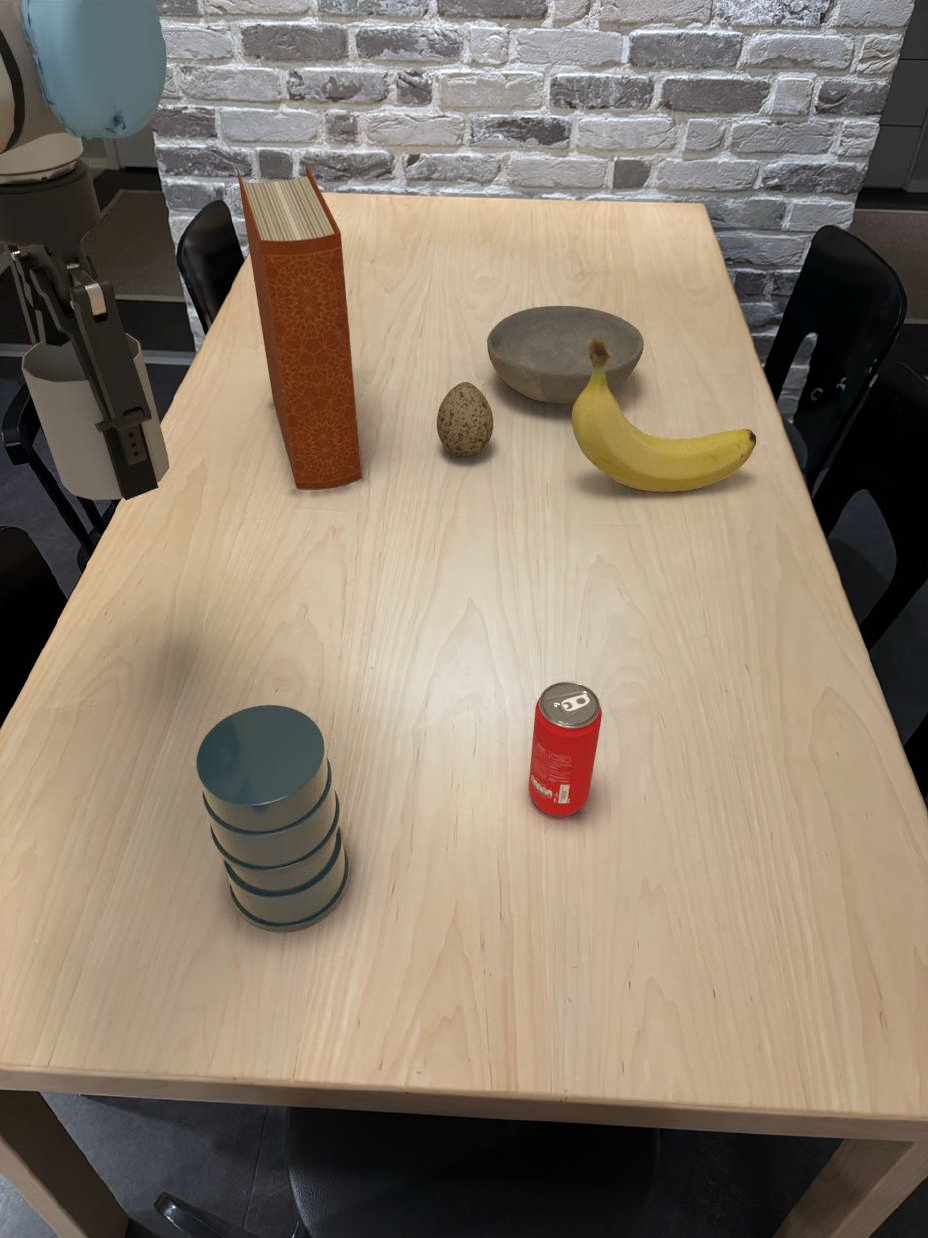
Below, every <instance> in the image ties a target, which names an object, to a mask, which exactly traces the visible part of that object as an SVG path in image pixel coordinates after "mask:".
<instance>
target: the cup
mask: <svg viewBox="0 0 928 1238" xmlns="http://www.w3.org/2000/svg"><path fill="white" fill-rule="evenodd" d="M125 335H126V338H127V341H128V344H129V347H130V351H131V354H132V357H133V360H134V363H135V366H136V369H137V372H138V375H139V378H140V381H141V384H142V387H143V390H144V393H145V396H146V399H147V403H148V406H149V408H150V410H151V415H152V419H151V420H148V421H146V422H143V423H142V427H143V431H144V435H145V438H146V442H147V446H148V450H149V454H150V457H151V461H152V465H153V469H154V472H155V476H156V480H157V484H158V483H160V482H161V481H163V478H164V477H165V475H166V474H167V473H168V472H169V470H170V462H169V454H168V450H167V446H166V443H165V442H166V441H165V438H164V434H163V430H162V426H161V421H160V419H159V415H158V410H157V407H156V403H155V399H154V394H153V390H152V387H151V382H150V379H149V375H148V371H147V367H146V363H145V358H144V354H143V351H142V346H141V343H140V341H139V340H138V339H136V338H135V337H133V336H132V335H130V333H127V332H125ZM21 371H22V374H23V376H24V379H25V382H26V385H27V388H28V391H29V393H30V397H31V399H32V402H33V405H34V408H35V410H36V413H37V416H38V419H39V422H40V425H41V428H42V430H43V433H44V437H45V439H46V442H47V445H48V447H49V451H50V453H51V457H52V459H53V462H54V465H55V467H56V470H57V473H58V477H59V479H60V481H61V484H62V486H63V487H64V488H65V489H66V490H67V491H68V492H69V493H71V495H73V496H77V497H79V498H84V499H88V500H91V501H105V500H106V501H107V500H120V499H124V498H123V497H122V495H121V492H120V489H119V485H118V482H117V479H116V475H115V472H114V469H113V465H112V462H111V459H110V455H109V452H108V449H107V445H106V442H105V439H104V435H103V432H99V431H98V430H97V428H96V426H95V424H96V423H99V422H101V421H104V420H103V416H102V414H101V411H100V409H99V407H98V404H97V402H96V400H95V397H94V395H93V393H92V390H91V388H90V384H89V381H88V380H87V378H86V376H85V374H84V371H83V369H82V367H81V364H80V362H79V360H78V357H77V355H76V353H75V350H74V348H73V346H72V343H71V341H69V342H67V343H66V344H64V345H62V346H61V347H60V346H54V345H47V344H46V341H42V342H40V343H38V344H36V345H34V346H33V347H32V346H31V348H30V349H29V350H28V351H27V352H25V353H24V355H22V360H21Z"/></svg>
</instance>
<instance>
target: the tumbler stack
mask: <svg viewBox="0 0 928 1238" xmlns="http://www.w3.org/2000/svg"><path fill="white" fill-rule="evenodd" d="M195 760H196V761H195V763H196V764H195V765H196V766H195V767H196V773H197V777H198V779H199V782H200V785H201V788H202V789H201V791H202V801H203V805H204V808H205V811H206V814H207V817H208V820H209V826H210V827H209V828H210V829H209V830H210V834H211V839H212V842H213V844H214V847H215V850H216V851H217V853H218V854H219V856H220V857H221V858H222V862H223V865H224V868H225V872H226V876H227V879H228V888H229V892H230V896H231V899H232V902H233V904H234V906H235V908H236V910H237V911H238V913H239V914H240V915H241V916H242V917H243V919H245V920H246V921H247V922H248V923H250V924H251V925H253V926H255V927H257V928H260V929H262V930H265V931H268V932H269V931H270V932H276V933H289V932H296V931H299V930H304V929H306V928H309V927H311V926H314V925H315V924H317V923H319V922H320V921H322V920H324V919H325V918H326V917H327V916H329V915H330V914H331V913H332V912H333V911H334V910H335V909H336V907H338V905H339V904H340V902H341V901H342V899H343V897H344V895H345V894H346V892H347V888H348V885H349V881H350V865H349V864H350V863H349V858H348V854H347V851H346V849H345V847H344V842H343V836H342V830H341V827H340V823H341V805H340V800H339V795H338V793H337V791H336V789H335V783H334V777H333V771H332V767H331V763H330V761H329V758H328V756H327V751H326V747H325V740H324V736H323V733H322V731H321V729H320V727H319V726H318V724H316V722H315V721H314V720H313V719H312V718H311V717H310V716H308V715H307V714H305V713H304V712H302V711H300V710H298V709H296V708H292V707H289V706H286V705H277V704H263V705H256V706H250V707H247V708H243V709H241V710H238V711H236V712H233V713H231V714H229V715H228V716H226V717H225V718H223V719H221V720H220V721H218V722H217V723H216V724H215V725H214V726H213V727H212V728H211V729H210V730H209V731H208V733H207V734H206V735H205V736H204V738H203V739H202V741H201V743H200V744H199V748H198V751H197V754H196V759H195Z"/></svg>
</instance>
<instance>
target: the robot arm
mask: <svg viewBox="0 0 928 1238" xmlns="http://www.w3.org/2000/svg"><path fill="white" fill-rule="evenodd" d="M160 14H161V13H160V11H159V7H158V4H157V2H156V0H0V244H2V246H3V248H4V251H5V254H6V257H7V259H8V262H9V265H10V269H11V273H12V276H13V279H14V283H15V287H16V291H17V294H18V298H19V301H20V305H21V308H22V312H23V317H24V319H25V323H26V327H27V330H28V334H29V338H30V342H31V348H32V347H33V346H34V345H36V344H38V343H40V342H42V341H46V344H47V345H54V346H60V347H61V346H62V345H64V344H66V343H67V342H69V341H71V343H72V346H73V348H74V350H75V353H76V355H77V357H78V360H79V362H80V364H81V367H82V369H83V371H84V374H85V376H86V378H87V380H88V381H89V384H90V388H91V390H92V393H93V395H94V397H95V400H96V402H97V404H98V407H99V409H100V411H101V414H102V416H103V420H104V421H101V422H99V423H96V424H95V426H96V428H97V430H98V431H99V432H103V435H104V439H105V442H106V445H107V449H108V452H109V455H110V459H111V462H112V465H113V469H114V472H115V475H116V479H117V482H118V485H119V489H120V492H121V495H122V497H123V498H122V499H124V500H125V501H129V500H131V499H134V498H136V497H139V496H141V495H144V494H147V493H150V492H151V491H155V490H156V489H157V490H158V489H159V484H158V483H157V480H156V476H155V472H154V469H153V465H152V461H151V457H150V454H149V450H148V446H147V442H146V438H145V435H144V431H143V427H142V423H143V422H146V421H148V420H151V419H152V415H151V410H150V408H149V406H148V403H147V399H146V396H145V393H144V390H143V387H142V384H141V381H140V378H139V375H138V372H137V369H136V366H135V363H134V360H133V357H132V354H131V351H130V347H129V344H128V341H127V338H126V335H125V333H126V332H125V330H124V327H123V323H122V320H121V316H120V314H119V313H120V312H119V309H118V308H119V307H118V304H117V303H118V302H117V298H116V295H115V294H116V293H115V288H114V285H113V283H112V281H110V279H109V278H107V277H105V278H102V279H101V278H100V279H98V277H99V276H98V272H97V269H96V268H95V264H94V263H93V261H92V259H91V257H90V256H89V254H85V251H84V249H83V247H82V246H81V241H82V239H83V237H85V235H86V234H87V233H88V232H91V231H92V230H94V229H95V228H96V227H97V226H98V224H99V223H100V220H101V210H100V205H99V201H98V197H97V194H96V193H97V192H96V190H95V187H94V182H93V178H92V174H91V170H90V167H89V165H88V164H87V163H86V162H84V161H83V160H82V159H81V158H79V157H80V156H81V155H82V154H83V152H84V146H83V142H82V140H87V141H91V140H93V139H95V138H100V139H101V138H103V139H123V138H127V137H130V136H132V135H135V134H137V133H138V132H140V131H141V130H142V129H143V128H145V127H146V126H147V125H148V124H149V122H150V121H151V120H152V118H153V116H154V115H155V113H156V112H157V110H158V108H159V105H160V104H161V101H162V98H163V95H164V90H165V85H166V79H167V71H168V69H167V67H168V66H167V65H168V57H167V56H168V55H167V42H166V40H165V39H164V34H163V30H162V29H163V28H162V24H161V19H160Z"/></svg>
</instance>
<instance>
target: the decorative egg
mask: <svg viewBox="0 0 928 1238" xmlns="http://www.w3.org/2000/svg"><path fill="white" fill-rule="evenodd" d="M436 432H437V435H438V438H439V440H440V443H441V444H442V445H443V447H444V448H445V449H446V450H447V451H448V452H449V453H450V454H453V455H455V456H457V457H461V458H469V457H474V456H475V455H478V454H479V453H481V452H482V451H483V450H484V449H485V448H486V447H487V446H488V445H489V443H490V441H491V439H492V435H493V432H494V416H493V411H492V407H491V405H490V404H489V401H488V399H487V397H486V396H485V395H484V393H483V392H482V391H481V390H480V389H479V388H478V387H477V386H476V385H474V384H473V383H471V382H468V381H462V382H459V383H458V384H456V385H455V386H454V387H452V388H451V389H450V390H449V391H448V393H447V394H446V395H445V396H444V398H443V399H442V401H441V402H440V405H439V407H438V411H437V416H436Z"/></svg>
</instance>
